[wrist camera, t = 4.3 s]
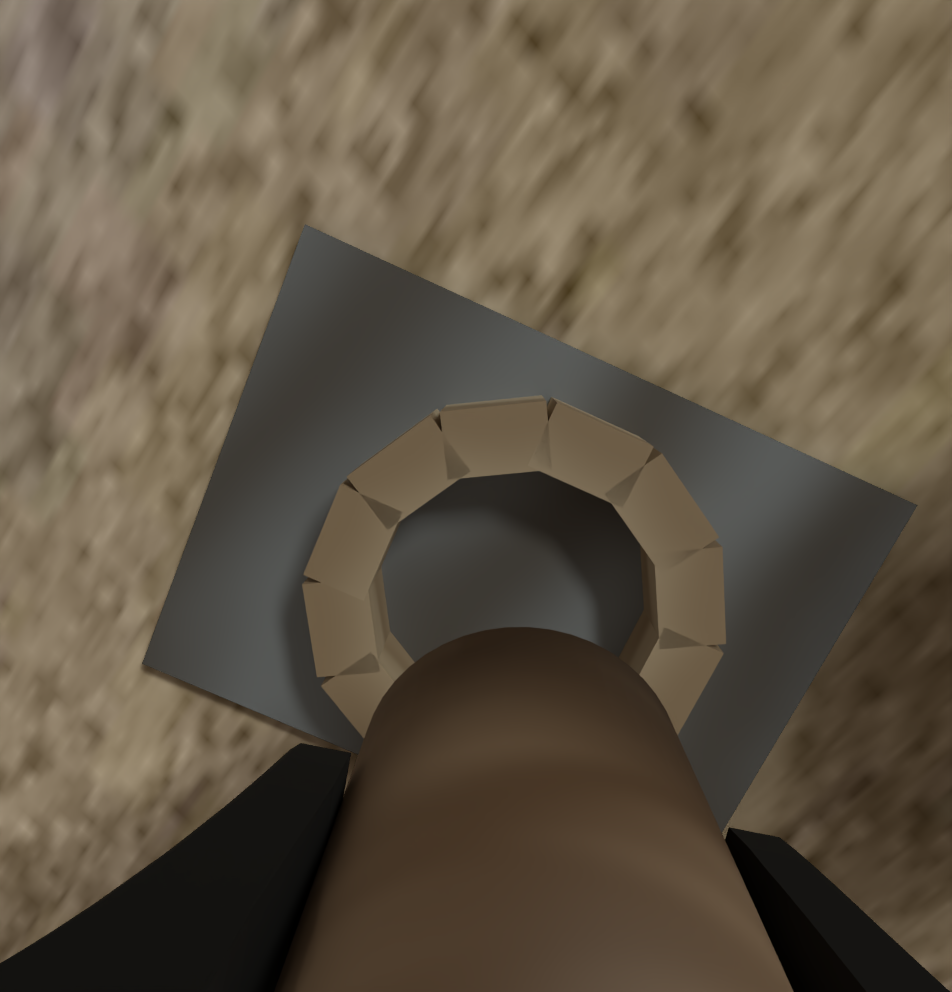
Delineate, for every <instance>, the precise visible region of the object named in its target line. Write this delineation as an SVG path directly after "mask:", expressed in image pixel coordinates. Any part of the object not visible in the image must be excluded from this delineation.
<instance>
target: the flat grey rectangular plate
mask: <svg viewBox="0 0 952 992" xmlns="http://www.w3.org/2000/svg"><path fill="white" fill-rule="evenodd" d="M916 507H917V505H916V504H913V503H911V502H909V501H907V500H905V499H902V498H900V497H898V496H896V495H894V494H892V493H889V492H887V491H885V490H883V489H881V488H878V487H876V486H874V485H872V484H870V483H868V482H865V481H863V480H861V479H859V478H857V477H855V476H852V475H850V474H848V473H846V472H844V471H841V470H839V469H837V468H835V467H833V466H831V465H828V464H826V463H824V462H822V461H820V460H817V459H815V458H813V457H811V456H809V455H807V454H804V453H802V452H800V451H798V450H796V449H793V448H791V447H789V446H787V445H785V444H783V443H780V442H778V441H776V440H774V439H772V438H770V437H767V436H765V435H763V434H761V433H759V432H756V431H754V430H752V429H750V428H748V427H746V426H743V425H741V424H739V423H737V422H735V421H732V420H730V419H728V418H726V417H724V416H722V415H719V414H717V413H715V412H713V411H711V410H708V409H706V408H704V407H702V406H700V405H698V404H695V403H693V402H691V401H689V400H687V399H685V398H682V397H680V396H678V395H676V394H674V393H671V392H669V391H667V390H665V389H663V388H661V387H658V386H656V385H654V384H652V383H650V382H647V381H645V380H643V379H641V378H639V377H637V376H634V375H632V374H630V373H628V372H626V371H624V370H621V369H619V368H617V367H615V366H613V365H610V364H608V363H606V362H604V361H602V360H600V359H597V358H595V357H593V356H591V355H589V354H586V353H584V352H582V351H580V350H578V349H576V348H573V347H571V346H569V345H567V344H565V343H562V342H560V341H558V340H556V339H554V338H552V337H549V336H547V335H545V334H543V333H541V332H539V331H536V330H534V329H532V328H530V327H528V326H525V325H523V324H521V323H519V322H517V321H515V320H512V319H510V318H508V317H506V316H504V315H501V314H499V313H497V312H495V311H493V310H491V309H488V308H486V307H484V306H482V305H480V304H478V303H475V302H473V301H471V300H469V299H467V298H464V297H462V296H460V295H458V294H456V293H454V292H451V291H449V290H447V289H445V288H443V287H440V286H438V285H436V284H434V283H432V282H430V281H427V280H425V279H423V278H421V277H419V276H416V275H414V274H412V273H410V272H408V271H406V270H403V269H401V268H399V267H397V266H395V265H393V264H390V263H388V262H386V261H384V260H382V259H379V258H377V257H375V256H373V255H371V254H369V253H366V252H364V251H362V250H360V249H358V248H355V247H353V246H351V245H349V244H347V243H345V242H342V241H340V240H338V239H336V238H334V237H332V236H329V235H327V234H325V233H323V232H321V231H318V230H316V229H314V228H312V227H310V226H308V225H305V226H304V229H303V231H302V234H301V237H300V239H299V242H298V245H297V247H296V250H295V253H294V256H293V258H292V261H291V264H290V266H289V269H288V272H287V274H286V277H285V280H284V283H283V285H282V288H281V291H280V293H279V296H278V299H277V301H276V304H275V307H274V310H273V312H272V315H271V318H270V320H269V323H268V326H267V328H266V331H265V334H264V337H263V339H262V342H261V345H260V347H259V350H258V353H257V355H256V358H255V361H254V364H253V366H252V369H251V372H250V374H249V377H248V380H247V382H246V385H245V388H244V390H243V393H242V396H241V399H240V401H239V404H238V407H237V409H236V412H235V415H234V417H233V420H232V423H231V426H230V428H229V431H228V434H227V436H226V439H225V442H224V444H223V447H222V450H221V453H220V455H219V458H218V461H217V463H216V466H215V469H214V471H213V474H212V477H211V480H210V482H209V485H208V488H207V490H206V493H205V496H204V498H203V501H202V504H201V507H200V509H199V512H198V515H197V517H196V520H195V523H194V525H193V528H192V531H191V533H190V536H189V539H188V542H187V544H186V547H185V550H184V552H183V555H182V558H181V560H180V563H179V566H178V569H177V571H176V574H175V577H174V579H173V582H172V585H171V587H170V590H169V593H168V596H167V598H166V601H165V604H164V606H163V609H162V612H161V614H160V617H159V620H158V623H157V625H156V628H155V631H154V633H153V636H152V639H151V641H150V644H149V647H148V650H147V652H146V655H145V658H144V660H143V663H142V664H144V665H147V666H149V667H151V668H154V669H156V670H158V671H161V672H163V673H166V674H168V675H170V676H173V677H175V678H177V679H180V680H182V681H185V682H187V683H189V684H192V685H194V686H196V687H199V688H201V689H204V690H206V691H208V692H211V693H213V694H216V695H218V696H220V697H223V698H225V699H227V700H230V701H232V702H235V703H237V704H239V705H242V706H244V707H246V708H249V709H251V710H254V711H256V712H258V713H261V714H263V715H265V716H268V717H270V718H273V719H275V720H277V721H280V722H282V723H284V724H287V725H289V726H292V727H294V728H296V729H299V730H301V731H304V732H306V733H308V734H311V735H313V736H315V737H318V738H320V739H323V740H325V741H327V742H330V743H332V744H334V745H337V746H339V747H342V748H344V749H346V750H349V751H351V752H353V753H356V754H359V751H360V749H361V746H362V743H363V740H364V737H365V734H366V732H367V729H368V726H369V724H370V721H371V719H372V716H373V714H374V712H375V710H376V708H377V706H378V705H379V703H380V701H381V699H382V697H383V696H384V695H385V693H386V692H387V691H388V689H389V688H390V687H391V685H392V684H393V683H394V681H395V680H396V679H397V678H398V677H399V676H400V675H401V674H402V673H403V672H404V671H405V670H406V669H407V668H408V667H410V666H411V665H412V664H413V663H415V662H416V661H417V660H419V659H420V658H421V657H423V656H424V655H425V654H427V653H429V652H431V651H432V650H434V649H436V648H438V647H439V646H441V645H443V644H445V643H447V642H450V641H452V640H455V639H457V638H460V637H462V636H465V635H469V634H472V633H476V632H480V631H484V630H490V629H497V628H504V627H533V628H542V629H551V630H555V631H559V632H563V633H567V634H571V635H574V636H577V637H579V638H582V639H585V640H587V641H590V642H592V643H594V644H596V645H598V646H600V647H602V648H604V649H606V650H608V651H610V652H611V653H613V654H614V655H615V656H617V657H618V658H620V659H621V660H623V661H624V662H625V663H627V664H628V665H629V666H630V667H631V668H632V669H634V670H635V671H636V672H637V673H638V674H639V675H640V676H641V677H642V678H643V679H644V680H645V681H646V682H647V684H648V685H649V686H650V687H651V689H652V690H653V691H654V692H655V693H656V695H657V696H658V698H659V700H660V701H661V703H662V705H663V706H664V708H665V710H666V711H667V713H668V716H669V718H670V720H671V722H672V724H673V727H674V729H675V731H676V733H677V735H678V738H679V740H680V742H681V744H682V746H683V749H684V751H685V753H686V755H687V758H688V760H689V762H690V764H691V766H692V769H693V771H694V773H695V775H696V777H697V780H698V782H699V784H700V786H701V788H702V791H703V793H704V795H705V797H706V800H707V802H708V804H709V806H710V808H711V811H712V813H713V815H714V817H715V819H716V822H717V824H718V826H719V828H720V830H721V833H722V831H723V830H724V828H725V826H726V825H727V823H728V821H729V820H730V818H731V816H732V815H733V813H734V811H735V810H736V808H737V806H738V804H739V803H740V801H741V799H742V798H743V796H744V794H745V793H746V791H747V789H748V788H749V786H750V784H751V783H752V781H753V779H754V778H755V776H756V774H757V773H758V771H759V769H760V768H761V766H762V764H763V763H764V761H765V759H766V758H767V756H768V754H769V753H770V751H771V749H772V748H773V746H774V744H775V743H776V741H777V739H778V738H779V736H780V734H781V733H782V731H783V729H784V728H785V726H786V724H787V723H788V721H789V719H790V718H791V716H792V714H793V713H794V711H795V709H796V708H797V706H798V704H799V702H800V701H801V699H802V697H803V696H804V694H805V692H806V691H807V689H808V687H809V686H810V684H811V682H812V681H813V679H814V677H815V676H816V674H817V672H818V671H819V669H820V667H821V666H822V664H823V662H824V661H825V659H826V657H827V656H828V654H829V652H830V651H831V649H832V647H833V646H834V644H835V642H836V641H837V639H838V637H839V636H840V634H841V632H842V631H843V629H844V627H845V626H846V624H847V622H848V621H849V619H850V617H851V616H852V614H853V612H854V611H855V609H856V607H857V606H858V604H859V602H860V600H861V599H862V597H863V595H864V594H865V592H866V590H867V589H868V587H869V585H870V584H871V582H872V580H873V579H874V577H875V575H876V574H877V572H878V570H879V569H880V567H881V565H882V564H883V562H884V560H885V559H886V557H887V555H888V554H889V552H890V550H891V549H892V547H893V545H894V544H895V542H896V540H897V539H898V537H899V535H900V534H901V532H902V530H903V529H904V527H905V525H906V524H907V522H908V520H909V519H910V517H911V515H912V514H913V512H914V510H915V509H916Z"/></svg>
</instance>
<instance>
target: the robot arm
mask: <svg viewBox="0 0 952 992" xmlns="http://www.w3.org/2000/svg"><path fill="white" fill-rule="evenodd" d="M350 756H351V753H348V752H343V751H338V750H333V749H328V748H323V747H318V746H313V745H307V744H302V743H300V744H299V745H297V746H295V747H294V748H292V749H291V750H289V751H288V752H287V753H286V754H285V755H284V756H283V757H282V758H280V759H279V760H278V761H277V762H276V763H275V764H274V765H273V766H271V767H270V768H269V769H268V770H267V771H266V772H265V773H264V774H262V775H261V776H260V777H259V778H258V779H257V780H256V781H254V782H253V783H252V784H251V785H250V786H249V787H247V788H246V789H245V790H244V791H243V792H242V793H240V794H239V795H238V796H237V797H236V798H234V799H233V800H232V801H231V802H230V803H228V804H227V805H226V806H225V807H224V808H222V809H221V810H220V811H219V812H217V813H216V814H215V815H214V816H212V817H211V818H210V819H208V820H207V821H206V822H205V823H203V824H202V825H201V826H200V827H198V828H197V829H196V830H195V831H193V832H192V833H191V834H190V835H188V836H187V837H186V838H184V839H183V840H182V841H181V842H179V843H178V844H177V845H176V846H174V847H173V848H172V849H170V850H169V851H168V852H166V853H165V854H164V855H162V856H161V857H159V858H158V859H157V860H155V861H154V862H152V863H151V864H150V865H148V866H147V867H145V868H144V869H143V870H141V871H140V872H138V873H137V874H136V875H134V876H133V877H131V878H130V879H129V880H127V881H126V882H124V883H123V884H122V885H120V886H119V887H117V888H116V889H114V890H113V891H112V892H110V893H109V894H107V895H106V896H105V897H103V898H102V899H100V900H99V901H98V902H96V903H95V904H93V905H92V906H90V907H89V908H87V909H86V910H84V911H83V912H81V913H80V914H78V915H77V916H75V917H74V918H72V919H71V920H69V921H67V922H66V923H64V924H63V925H61V926H60V927H58V928H57V929H55V930H54V931H52V932H50V933H49V934H47V935H46V936H44V937H43V938H41V939H39V940H38V941H36V942H35V943H33V944H31V945H30V946H28V947H26V948H25V949H23V950H22V951H20V952H18V953H17V954H15V955H13V956H12V957H10V958H8V959H7V960H5V961H3V962H2V963H0V992H274V991H275V988H276V985H277V982H278V979H279V977H280V974H281V971H282V968H283V965H284V963H285V960H286V957H287V954H288V951H289V948H290V946H291V943H292V940H293V937H294V934H295V932H296V929H297V926H298V923H299V920H300V918H301V915H302V912H303V909H304V906H305V903H306V901H307V898H308V895H309V892H310V889H311V887H312V884H313V881H314V878H315V875H316V873H317V870H318V867H319V865H320V862H321V859H322V856H323V853H324V851H325V848H326V845H327V842H328V839H329V837H330V834H331V831H332V828H333V825H334V822H335V820H336V817H337V814H338V811H339V808H340V806H341V803H342V800H343V796H344V790H345V784H346V778H347V773H348V767H349V761H350ZM725 841H726V844H727V846H728V848H729V850H730V853H731V855H732V857H733V859H734V861H735V864H736V866H737V868H738V870H739V872H740V875H741V877H742V879H743V881H744V883H745V886H746V888H747V890H748V892H749V895H750V897H751V899H752V901H753V903H754V906H755V908H756V910H757V912H758V914H759V917H760V919H761V921H762V923H763V925H764V928H765V930H766V932H767V934H768V937H769V939H770V941H771V943H772V945H773V948H774V950H775V952H776V954H777V956H778V959H779V961H780V963H781V965H782V967H783V970H784V972H785V974H786V976H787V979H788V981H789V983H790V985H791V987H792V990H793V992H950V991H949V990H948V989H946V988H945V987H944V986H943V985H942V984H941V983H940V982H939V981H938V980H937V979H935V978H934V977H933V976H932V975H931V974H930V973H929V972H928V971H927V970H926V969H925V968H923V967H922V966H921V965H920V964H919V963H918V962H917V961H916V960H915V959H914V958H913V957H912V956H910V955H909V954H908V953H907V952H906V951H905V950H904V949H903V948H902V947H901V946H900V945H899V944H898V943H896V942H895V941H894V940H893V939H892V938H891V937H890V936H889V935H888V934H887V933H886V932H885V931H884V930H882V929H881V928H880V927H879V926H878V925H877V924H876V923H875V922H874V921H873V920H872V919H871V918H870V917H868V916H867V915H866V914H865V913H864V912H863V911H862V910H861V909H860V908H859V907H858V906H857V905H856V904H855V903H853V902H852V901H851V900H850V899H849V898H848V897H847V896H846V895H845V894H844V893H843V892H842V891H841V890H839V889H838V888H837V887H836V886H835V885H834V884H833V883H832V882H831V881H830V880H829V879H827V878H826V877H825V876H824V875H823V874H822V873H821V872H820V871H819V870H818V869H817V868H815V867H814V866H813V865H812V864H811V863H810V862H809V861H807V860H806V859H805V858H804V857H803V856H802V855H801V854H799V853H798V852H797V851H796V850H795V849H793V848H792V847H791V846H790V845H788V844H787V843H786V842H785V841H783V840H782V839H781V838H780V837H775V836H770V835H765V834H760V833H754V832H749V831H744V830H739V829H734V828H729V829H728V832H727V836H726V839H725Z"/></svg>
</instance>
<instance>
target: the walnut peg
mask: <svg viewBox="0 0 952 992" xmlns="http://www.w3.org/2000/svg"><path fill="white" fill-rule="evenodd" d="M274 992H793V990H792V987H791V985H790V983H789V981H788V979H787V976H786V974H785V972H784V970H783V967H782V965H781V963H780V961H779V959H778V956H777V954H776V952H775V950H774V948H773V945H772V943H771V941H770V939H769V937H768V934H767V932H766V930H765V928H764V925H763V923H762V921H761V919H760V917H759V914H758V912H757V910H756V908H755V906H754V903H753V901H752V899H751V897H750V895H749V892H748V890H747V888H746V886H745V883H744V881H743V879H742V877H741V875H740V872H739V870H738V868H737V866H736V864H735V861H734V859H733V857H732V855H731V853H730V850H729V848H728V846H727V844H726V841H725V839H724V837H723V835H722V833H721V830H720V828H719V826H718V824H717V822H716V819H715V817H714V815H713V813H712V811H711V808H710V806H709V804H708V802H707V800H706V797H705V795H704V793H703V791H702V788H701V786H700V784H699V782H698V780H697V777H696V775H695V773H694V771H693V769H692V766H691V764H690V762H689V760H688V758H687V755H686V753H685V751H684V749H683V746H682V744H681V742H680V740H679V738H678V735H677V733H676V731H675V729H674V727H673V724H672V722H671V720H670V718H669V716H668V713H667V711H666V710H665V708H664V706H663V705H662V703H661V701H660V700H659V698H658V696H657V695H656V693H655V692H654V691H653V690H652V689H651V687H650V686H649V685H648V684H647V682H646V681H645V680H644V679H643V678H642V677H641V676H640V675H639V674H638V673H637V672H636V671H635V670H634V669H632V668H631V667H630V666H629V665H628V664H627V663H625V662H624V661H623V660H621V659H620V658H618V657H617V656H615V655H614V654H613V653H611V652H610V651H608V650H606V649H604V648H602V647H600V646H598V645H596V644H594V643H592V642H590V641H587V640H585V639H582V638H579V637H577V636H574V635H571V634H567V633H563V632H559V631H555V630H551V629H542V628H533V627H504V628H497V629H490V630H484V631H480V632H476V633H472V634H469V635H465V636H462V637H460V638H457V639H455V640H452V641H450V642H447V643H445V644H443V645H441V646H439V647H438V648H436V649H434V650H432V651H431V652H429V653H427V654H425V655H424V656H423V657H421V658H420V659H419V660H417V661H416V662H415V663H413V664H412V665H411V666H410V667H408V668H407V669H406V670H405V671H404V672H403V673H402V674H401V675H400V676H399V677H398V678H397V679H396V680H395V681H394V683H393V684H392V685H391V687H390V688H389V689H388V691H387V692H386V693H385V695H384V696H383V697H382V699H381V701H380V703H379V705H378V706H377V708H376V710H375V712H374V714H373V716H372V719H371V721H370V724H369V726H368V729H367V732H366V734H365V737H364V740H363V743H362V746H361V749H360V751H359V754H358V757H357V760H356V763H355V765H354V768H353V771H352V774H351V777H350V780H349V782H348V785H347V788H346V791H345V794H344V796H343V800H342V803H341V806H340V808H339V811H338V814H337V817H336V820H335V822H334V825H333V828H332V831H331V834H330V837H329V839H328V842H327V845H326V848H325V851H324V853H323V856H322V859H321V862H320V865H319V867H318V870H317V873H316V875H315V878H314V881H313V884H312V887H311V889H310V892H309V895H308V898H307V901H306V903H305V906H304V909H303V912H302V915H301V918H300V920H299V923H298V926H297V929H296V932H295V934H294V937H293V940H292V943H291V946H290V948H289V951H288V954H287V957H286V960H285V963H284V965H283V968H282V971H281V974H280V977H279V979H278V982H277V985H276V988H275V991H274Z"/></svg>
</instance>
